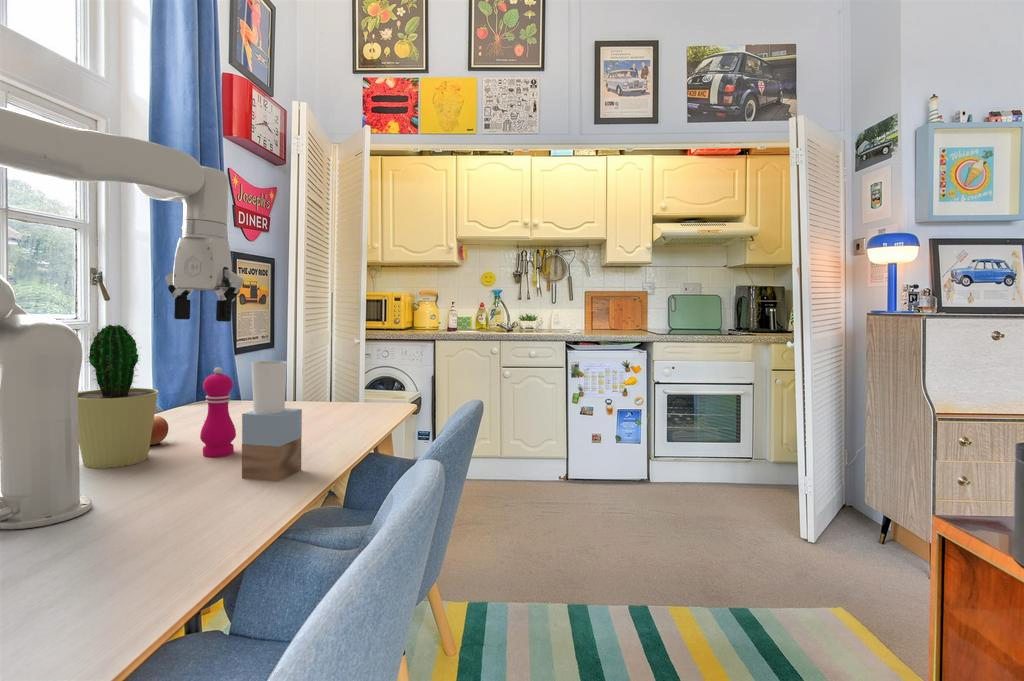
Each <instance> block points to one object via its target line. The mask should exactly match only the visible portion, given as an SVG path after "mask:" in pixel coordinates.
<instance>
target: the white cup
mask: <svg viewBox="0 0 1024 681" xmlns="http://www.w3.org/2000/svg"><path fill="white" fill-rule="evenodd" d="M287 364H288V361H286V360H258V361H257V360H256V361H251V366H250V367H251V383H252V384H251V385H252V405H253V406H252V407H253V411H254V413H257V414H274V413H281V412H284V409H285V408H286V407H285V406H286V390H287V389H286V386H287V385H286V384H287V366H288V365H287Z"/></svg>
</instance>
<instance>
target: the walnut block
mask: <svg viewBox="0 0 1024 681" xmlns="http://www.w3.org/2000/svg"><path fill="white" fill-rule="evenodd" d="M301 471H302V437H301V438H299V439H297V440H294V441H292V442H289V443H287V444H284V445H282V446H279V447H277V446H264V445H251V444H242V443H241V479H245V480H252V481H253V480H256V481H264V480H265V482H275V481H276V482H278V483H279V482H281V481H283V480H285V479H287V478H288V477H291V476H293V475H295V474H297V473H299V472H301ZM276 482H275V483H276Z"/></svg>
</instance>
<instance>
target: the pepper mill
mask: <svg viewBox="0 0 1024 681" xmlns="http://www.w3.org/2000/svg"><path fill="white" fill-rule="evenodd" d="M213 373H214V374H210V375H208V376H207V377H206V378H205V379H204V381H203V384H202V388H203V391H204V392H205V394H206V396H205V399H206V400H205V402H206V403H207V414H206V418H205V421H204V422H203V425H202V427H201V430H200V435H199V436H200V441H201V442H202V443H203V444H204V446H203V447H202V455H203V456H204V457H207V458H220V457H226V456H230V455H232V454H233V453H234V451H235V450H234V444H233V443H232V442H233V441H234V439H235V438H236V437H237V432H236V428H235V424H234V423H233V420H232V418H231V416H230V415H231V414H230V411H229V403H230V401H231V395H230V392H231V391H232V390H233V387H234V382H233V380H232V378H231V377H230V376H229V375H226V374H224V373H223V368H221V367H219V366H217V367H214V369H213Z"/></svg>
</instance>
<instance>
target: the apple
mask: <svg viewBox="0 0 1024 681" xmlns="http://www.w3.org/2000/svg"><path fill="white" fill-rule="evenodd" d="M168 433H169V424H168V421H167V420H166V419H165V418H164V417H162V416H159V415H157V416H155V415H154V421H153V427H152V433H151V440H150V446H151V445H157V444H159V443H162V442H163V441H164V440H165V439H166V437H167V436H168Z"/></svg>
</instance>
